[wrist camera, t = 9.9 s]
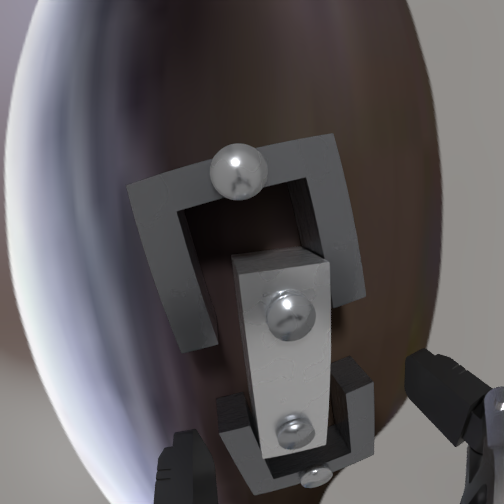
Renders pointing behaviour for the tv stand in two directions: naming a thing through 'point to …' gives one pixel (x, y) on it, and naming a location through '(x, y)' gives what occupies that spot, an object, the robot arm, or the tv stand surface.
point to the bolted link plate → (286, 345)
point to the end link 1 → (240, 188)
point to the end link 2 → (312, 460)
